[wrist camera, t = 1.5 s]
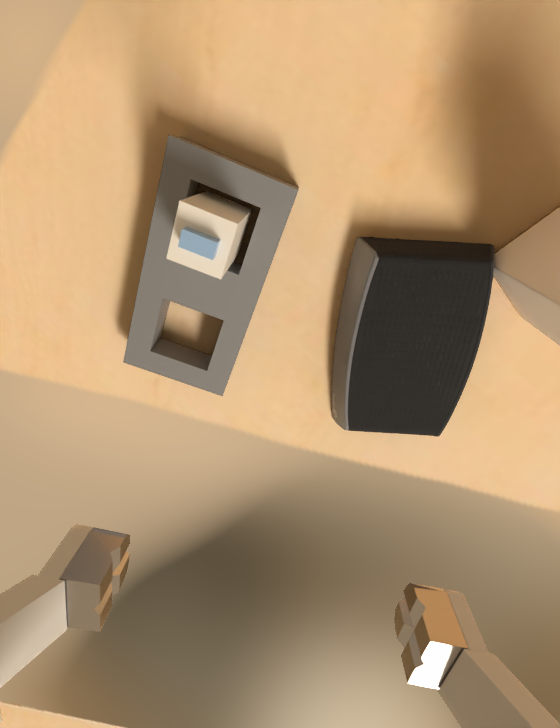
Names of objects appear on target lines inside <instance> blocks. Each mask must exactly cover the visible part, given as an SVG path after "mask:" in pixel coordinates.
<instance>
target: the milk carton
mask: <svg viewBox="0 0 560 728" xmlns="http://www.w3.org/2000/svg"><path fill="white" fill-rule="evenodd" d="M493 276H494V277H495V279H496V280H497V282H498V283H499V285H500V286H501V288H502V289H503V291H504V292H505V294H506V295H507V297H508V298H509V300H510V301H511V303H512V304H513V306H514V307H515V309H516V310H517V312H518V313H519V315H520V316H521V317H522V318H523V319H524V320H526V321H527V322H528V323H530V324H531V325H532V326H534V327H535V328H537V329H538V330H539V331H541V332H542V333H543V334H545V335H546V336H547V337H549V338H550V339H551V340H553V341H554V342H556V343H557V344H558V345H560V207H559V208H557V209H556V210H554V211H553V212H552V213H550V214H549V215H548V216H546V217H545V218H543V219H542V220H541V221H539V222H538V223H537V224H535V225H534V226H532V227H531V228H530V229H528V230H527V231H525V232H524V233H523V234H521V235H520V236H519V237H517V238H516V239H514V240H513V241H512V242H510V243H509V244H508V245H506V246H505V247H503V248H502V249H501V250H499V251H498V252H496V253H495V258H494V272H493Z"/></svg>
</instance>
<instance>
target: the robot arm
mask: <svg viewBox="0 0 560 728" xmlns="http://www.w3.org/2000/svg"><path fill="white" fill-rule="evenodd" d="M129 544H130V535H128V534H123V533H118V532H113V531H109V530H104V529H99V528H94V527H88V526H83V525H78V524H77V525H75V526H74V527H73V528H71V529H70V531H69V532H68V534H67V535H66V536H65V538H64V539H63V541H62V542H61V544H60V545H59V547H58V548H57V549H56V551H55V552H54V553H53V555H52V556H51V558H50V559H49V561H48V562H47V563H46V565H45V566H44V568H43V569H42V570H41V572H40V574H39V575H38V576H36V575H31V576H30V577H28V578H26V579H25V580H23V581H21V582H20V583H18V584H16V585H15V586H13V587H11V588H10V589H8V590H7V591H5V592H3V593H1V594H0V687H2V686H3V685H4V684H5V683H6V682H7V681H8V680H10V679H11V678H12V677H13V676H14V675H15V674H16V673H18V672H19V671H20V670H21V669H22V668H23V667H25V666H26V665H27V664H28V663H29V662H30V661H32V660H33V659H34V658H35V657H36V656H37V655H38V654H40V653H41V652H42V651H43V650H44V649H45V648H46V647H48V646H49V645H50V644H51V643H52V642H53V641H54V640H56V639H57V638H58V637H59V636H60V635H61V634H63V633H64V632H65V631H66V630H67V627H69V628H77V629H84V630H92V631H99V632H100V631H101V629H102V626H103V624H104V622H105V620H106V618H107V616H108V614H109V612H110V609H111V607H112V595H114V594H115V593H117V592H118V591H119V590H120V588H121V586H122V583H123V581H124V578H125V575H126V572H127V569H128V564H129V554H128V552H127V551H126V550H127V548H128V546H129ZM404 595H405V598H404V599H402V600H400V601H399V602H398V605H397V607H396V609H395V619H394V620H395V630H396V635H397V638H398V640H399V641H400V642H401V644H402V645H403V646H404V650H403V653H402V655H401V657H402V661H403V666H404V670H405V674H406V679H407V683H409V684H414V685H420V686H424V687H429V688H434V689H439V690H438V692H439V694H440V695H441V697H442V698H443V700H444V701H445V703H446V704H447V706H448V707H449V709H450V710H451V712H452V713H453V715H454V717H455V718H456V720H457V721H458V723H459V724H460V726H461V727H462V728H560V724H559V723H558V722H557V721H556V720H555V719H554V718H553V717H552V716H551V715H550V713H549V712H548V711H547V710H546V709H545V708H544V707H543V706H542V705H541V704H540V703H539V702H538V701H537V699H536V698H535V697H534V696H532V694H531V693H530V692H529V691H528V690H527V689H526V688H525V687H524V686H523V685H522V683H520V681H519V680H518V679H517V678H516V677H515V676H514V675H513V674H512V673H511V672H510V671H509V670H508V668H507V667H506V666H505V665H504V664H503V663H502V662H501V661H500V660H499V659H498V658H497V657H496V656H495V655H494V654H492V653H488V650H487V648H486V646H485V644H484V641H483V639H482V636H481V634H480V632H479V629H478V627H477V625H476V622H475V620H474V618H473V615H472V613H471V611H470V608H469V606H468V604H467V602H466V599H465V597H464V595H463V594H462V593H461V592H457V591H451V590H446V589H442V588H437V587H430V586H423V585H418V584H411V583H409V584H408V585H406V587H405V590H404ZM1 720H2V718H1V711H0V722H1Z"/></svg>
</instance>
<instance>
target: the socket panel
mask: <svg viewBox="0 0 560 728" xmlns="http://www.w3.org/2000/svg"><path fill="white" fill-rule="evenodd" d="M199 183H201V184H204V185H206V186H209V187H211V188H214V189H216V190H218V191H221V192H223V193H226V194H228V195H231V196H233V197H235V198H238V199H240V200H243V201H245V202H247V203H250V204H252V205H255V206H257V207H260V208H261V209H260V212H259V215H258V218H257V221H256V224H255V227H254V230H253V233H252V237H251V240H250V243H249V246H248V249H247V252H246V255H245V258H244V261H243V264H242V265H240V264H237V263H235V262H233V263H232V264H231V266H230V267H229V268H228V270H227V271H226V273H225V274H224V276H223V277H222V279H218V278H216V277H213V276H210V275H208V274H205V273H203V272H200V271H197V270H195V269H192V268H189V267H187V266H184V265H182V264H179V263H176V262H174V261H171V260H169V259H166V258H167V253H168V249H169V244H170V240H171V236H172V231H173V227H174V223H175V218H176V214H177V210H178V205H179V201H180V200H183V199H185V198H188V197H191V196H194V195H196V193H197V189H198V185H199ZM298 188H299V187H297V186H295V185H292V184H290V183H288V182H285V181H283V180H281V179H278V178H276V177H274V176H271V175H269V174H267V173H264V172H262V171H259V170H257V169H255V168H252V167H250V166H248V165H245V164H243V163H241V162H238V161H236V160H234V159H231V158H229V157H227V156H224V155H222V154H220V153H217V152H215V151H212V150H210V149H208V148H205V147H203V146H201V145H198V144H196V143H194V142H191V141H189V140H187V139H184V138H182V137H178V136H172V135H169V136H168V141H167V146H166V151H165V156H164V161H163V166H162V171H161V176H160V181H159V186H158V191H157V196H156V201H155V206H154V211H153V216H152V221H151V226H150V231H149V236H148V241H147V246H146V251H145V256H144V261H143V266H142V271H141V276H140V281H139V286H138V291H137V296H136V301H135V306H134V311H133V316H132V321H131V326H130V331H129V336H128V341H127V346H126V351H125V356H124V361H123V362H124V363H127V364H130V365H133V366H136V367H139V368H141V369H144V370H147V371H150V372H153V373H156V374H159V375H162V376H165V377H168V378H171V379H174V380H177V381H179V382H182V383H185V384H188V385H191V386H194V387H197V388H200V389H203V390H206V391H209V392H212V393H215V394H217V395H220V396H223V393H224V391H225V388H226V385H227V382H228V380H229V377H230V374H231V371H232V369H233V366H234V363H235V361H236V358H237V355H238V352H239V350H240V347H241V344H242V342H243V339H244V336H245V333H246V331H247V328H248V325H249V323H250V320H251V317H252V314H253V312H254V309H255V306H256V303H257V301H258V298H259V295H260V293H261V290H262V287H263V284H264V282H265V279H266V276H267V274H268V271H269V268H270V265H271V263H272V260H273V257H274V255H275V252H276V249H277V246H278V244H279V241H280V238H281V235H282V233H283V230H284V227H285V225H286V222H287V219H288V216H289V214H290V211H291V208H292V206H293V203H294V200H295V197H296V195H297V192H298ZM170 301H172V302H175V303H177V304H180V305H183V306H186V307H188V308H191V309H194V310H196V311H199V312H202V313H205V314H207V315H210V316H213V317H215V318H218V319H221V320H224V321H223V324H222V327H221V330H220V333H219V336H218V340H217V343H216V346H215V349H214V352H213V355H212V356H210V355H208V354H205V353H202V352H199V351H196V350H194V349H191V348H188V347H185V346H182V345H179V344H177V343H174V342H171V341H168V340H165V339H163V338H161V335H162V330H163V326H164V322H165V318H166V314H167V310H168V306H169V302H170Z"/></svg>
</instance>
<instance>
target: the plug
mask: <svg viewBox="0 0 560 728" xmlns="http://www.w3.org/2000/svg"><path fill="white" fill-rule="evenodd" d="M251 213H252V209H250V208H247V207H245V206H242V205H240V204H238V203H235V202H233V201H230V200H228V199H225V198H223V197H220V196H218V195H216V194H213V193H211V192H208V191H206V192H203V193H200V194H197V195H194V196H191V197H188V198H185V199H183V200H180V201H179V205H178V210H177V214H176V218H175V223H174V227H173V231H172V236H171V240H170V244H169V249H168V253H167V258H166V259H169V260H171V261H174V262H176V263H179V264H182V265H184V266H187V267H189V268H192V269H195V270H197V271H200V272H203V273H205V274H208V275H210V276H213V277H216V278H218V279H222V277H223V276H224V274H225V273H226V271H227V270H228V268H229V267H230V266H231V264H232V263H233V261H234V260H235V258H236V257H237V255H238V253H239V250H240V247H241V244H242V241H243V238H244V234H245V231H246V228H247V225H248V222H249V219H250V216H251Z"/></svg>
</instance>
